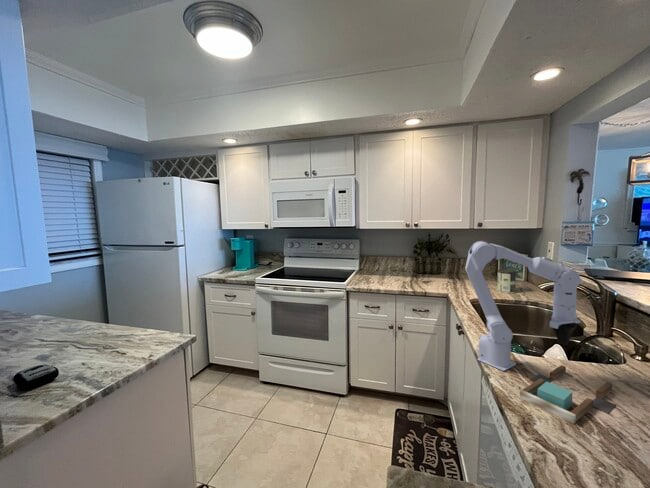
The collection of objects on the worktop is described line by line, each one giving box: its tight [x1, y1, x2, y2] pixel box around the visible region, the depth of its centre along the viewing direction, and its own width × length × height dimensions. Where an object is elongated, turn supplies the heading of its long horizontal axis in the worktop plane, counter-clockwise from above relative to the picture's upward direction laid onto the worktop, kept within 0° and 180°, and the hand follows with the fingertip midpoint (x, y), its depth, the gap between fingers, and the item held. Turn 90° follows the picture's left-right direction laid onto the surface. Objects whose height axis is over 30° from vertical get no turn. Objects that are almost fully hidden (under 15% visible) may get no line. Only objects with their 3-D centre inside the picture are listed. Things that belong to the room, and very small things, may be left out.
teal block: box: [536, 381, 574, 411], centre depth 79 cm, size 6×6×4 cm
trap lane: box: [519, 364, 617, 425], centre depth 82 cm, size 18×26×2 cm
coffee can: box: [496, 269, 517, 294], centre depth 187 cm, size 10×10×14 cm
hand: (562, 344), depth 93 cm, fingers closed
